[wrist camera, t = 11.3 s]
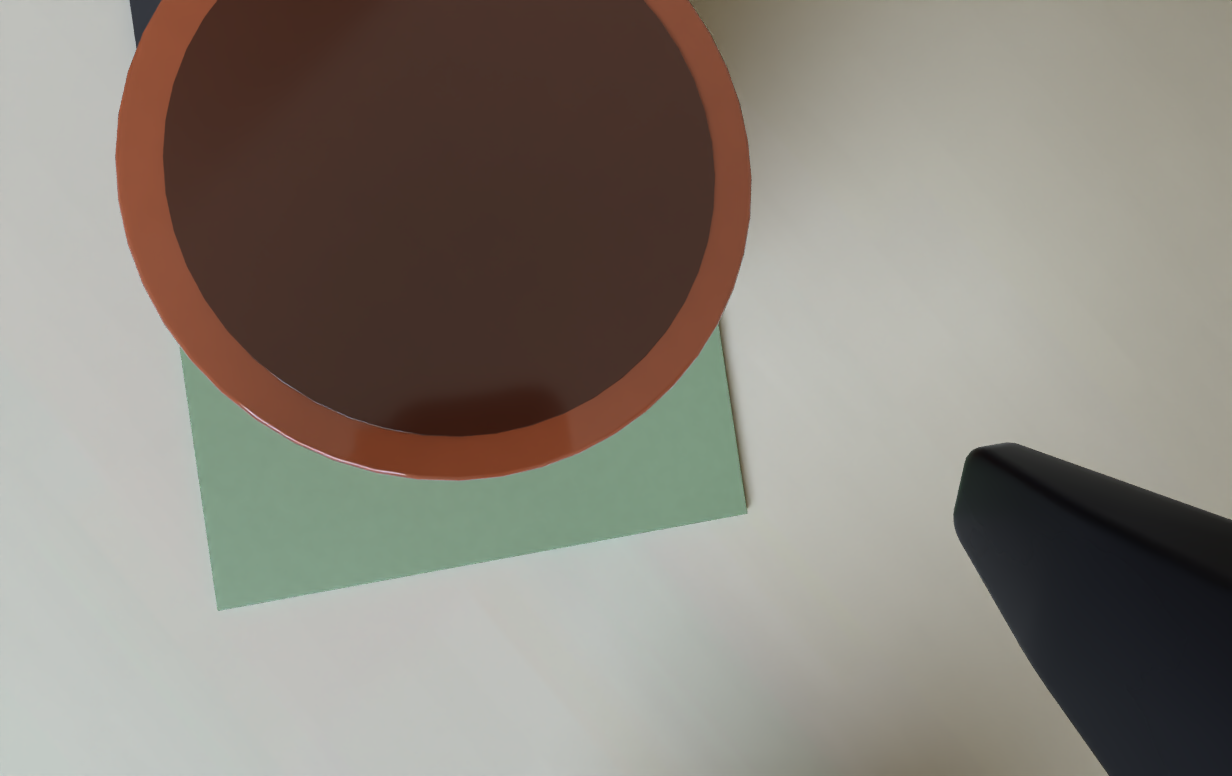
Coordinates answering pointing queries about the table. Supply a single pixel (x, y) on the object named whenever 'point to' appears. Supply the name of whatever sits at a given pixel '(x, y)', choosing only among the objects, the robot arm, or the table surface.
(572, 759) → the table surface
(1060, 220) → the table surface
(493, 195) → the tumbler
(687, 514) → the desk mat
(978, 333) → the table surface
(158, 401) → the table surface
